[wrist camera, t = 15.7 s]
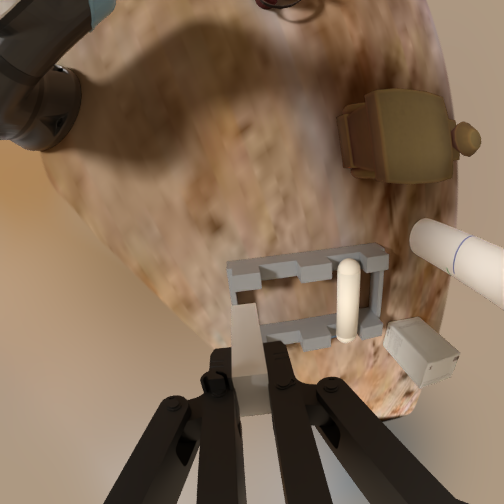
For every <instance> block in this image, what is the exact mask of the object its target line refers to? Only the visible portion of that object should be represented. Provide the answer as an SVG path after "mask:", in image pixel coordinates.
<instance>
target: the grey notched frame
mask: <svg viewBox="0 0 504 504" xmlns="http://www.w3.org/2000/svg"><path fill="white" fill-rule="evenodd" d="M347 258H351V259H354V260H356V261H357V262H358V263H359V265H360V268H361V269H362V270H364V271H365V272H366V273H371V279H370V296H369V307H366V308H361V309H359V313H358V327H357V334H358V335H359V337H360V338H361V340H365V339H369V338H374V337H378V336H382V329H383V323H382V322H381V321H380V312H381V302H382V291H383V277H384V270H388V266H389V254H388V253H386V252H385V248H383V247H382V246H380V245H379V244H377V243H370V244H362V245H355V246H347V247H339V248H332V249H324V250H316V251H308V252H300V253H292V254H284V255H276V256H269V257H260V258H252V259H244V260H236V261H228V262H227V276H228V283H229V289H230V296H231V302H232V306H233V305H238V299H237V292H239V291H248V290H255V289H262V286H261V281H262V280H270V279H277V278H285V277H292V276H297V277H298V278H299V280H300V282H301V283H307V282H314V281H321V280H327V279H332V271H334V270H337V268H338V265H339V263H340V262H341V261H342V260H344V259H347ZM336 319H337V313H335V314H329V315H324V316H318V317H312V318H306V319H299V320H293V321H286V322H279V323H272V324H265V325H260V331H261V337H262V343H266V342H273V341H282V342H283V343H284V344H291V343H297V342H300V344H301V346H302V349H303V352H306V351H312V350H317V349H322V348H328V347H331V338H335V337H337V336H336Z"/></svg>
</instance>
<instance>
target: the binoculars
mask: <svg viewBox="0 0 504 504" xmlns="http://www.w3.org/2000/svg"><path fill="white" fill-rule="evenodd" d="M255 1H256V3H257V5H258V6H259V7H261V8H264V9H270V8H278V9H283V8H288V7H291V6H293V5H295V4H297V3H298V2H300V1H301V0H298V1H296V2H294V3H292V4H289V5H284V6H279V5H275V4H276V3H277V0H255Z"/></svg>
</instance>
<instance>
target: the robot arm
mask: <svg viewBox="0 0 504 504" xmlns="http://www.w3.org/2000/svg"><path fill="white" fill-rule="evenodd" d="M115 5H116V0H0V140H11V141H12V142H14V143H16V144H17V145H19V146H21V147H22V148H24V149H27V150H32V151H41V150H46V149H49V148H51V147H53V146H55V145H56V144H57V143H59V142H60V141H61V140H62V139H63V138H64V137H65V136H66V134H67V133H68V132H69V130H70V129H71V127H72V125H73V124H74V122H75V119H76V117H77V114H78V111H79V108H80V103H81V87H80V82H79V80H78V78H77V76H76V75H75V73H74V72H72V71H71V70H70V69H68V68H65V67H63V66H61V65H55V64H56V63H57V62H58V60H59V59H60V58H61V57H62V56H63V55H64V54H65V53H67V52H68V51H69V50H70V49H71V48H72V47H73V46H74V45H75V44H76V43H77V42H78V41H79V40H80V39H82V38H83V37H84V36H85V35H86V34H87V33H88V32H92V31H93V30H94V28H95V27H96V26H97V25H98V24H99V23H100V22H101V21H102V20H104V19H105V18H106V17H107V16H108V15H110V14H111V12H112V11H113V10H114V8H115ZM200 381H201V385H202V388H203V391H204V394H202V395H201V396H199V397H197V398H194V399H190V400H186V399H185V398H184V397H182V396H170V397H167V398H166V399H164V400H163V401H162V402H161V403H160V405H159V407H158V409H157V411H156V412H155V414H154V416H153V417H152V419H151V421H150V423H149V424H148V426H147V428H146V430H145V431H144V433H143V435H142V437H141V438H140V440H139V442H138V444H137V445H136V447H135V449H134V451H133V452H132V454H131V456H130V458H129V459H128V461H127V463H126V465H125V466H124V468H123V470H122V472H121V474H120V475H119V477H118V479H117V481H116V482H115V484H114V486H113V488H112V489H111V491H110V493H109V495H108V496H107V498H106V500H105V502H104V503H103V504H177V501H178V499H179V496H180V494H181V491H182V488H183V486H184V484H185V481H186V479H187V476H188V474H189V471H190V469H191V466H192V464H193V461H194V459H195V456H196V453H197V451H198V448H199V446H200V452H199V467H198V484H197V504H247V500H246V488H245V487H246V486H245V473H244V457H243V441H242V426H241V421H240V417H244V416H253V415H262V414H270V413H271V414H272V422H273V430H274V435H275V441H276V447H277V453H278V460H279V466H280V472H281V478H282V484H283V491H284V496H285V503H286V504H333V503H332V499H331V495H330V492H329V488H328V485H327V481H326V477H325V474H324V470H323V467H322V463H321V459H320V456H319V452H318V449H317V446H316V442H315V438H314V435H313V431H312V428H311V425H315V427H316V429H317V430H318V432H319V433H320V434H321V436H322V437H323V439H324V440H325V442H326V443H327V445H328V446H329V447H330V449H331V450H332V451H333V453H334V455H335V456H336V457H337V459H338V460H339V462H340V463H341V464H342V466H343V467H344V469H345V470H346V471H347V473H348V474H349V476H350V477H351V478H352V480H353V481H354V482H355V484H356V485H357V487H358V488H359V489H360V491H361V492H362V493H363V495H364V496H365V497H366V499H367V500H368V501H369V503H370V504H468V503H465V502H463V501H460V500H458V499H455V498H454V497H453V495H452V494H451V493H450V492H448V490H447V489H446V488H445V487H444V486H443V485H442V484H441V483H440V482H439V481H438V480H437V479H436V478H435V477H434V476H433V475H432V474H431V473H430V472H429V471H428V470H427V469H426V468H425V467H424V466H423V465H422V464H421V463H420V462H419V461H418V460H417V458H416V457H415V456H414V455H413V454H412V453H411V452H410V451H409V450H408V449H407V448H406V447H405V446H404V445H403V444H402V443H401V442H400V441H399V440H398V438H397V437H395V435H394V434H393V433H392V432H391V431H390V430H389V429H388V428H387V427H386V426H385V425H384V424H383V423H382V421H381V420H380V419H379V418H378V417H377V416H376V415H375V414H374V413H373V412H372V411H371V410H370V409H369V407H368V406H367V405H366V404H365V403H364V402H363V401H362V400H361V399H360V398H359V397H358V396H357V395H356V393H355V392H354V391H353V390H352V389H351V388H350V387H349V386H348V385H347V384H346V383H345V381H343V380H342V379H341V378H337V377H327V378H323V379H322V380H320V381H319V382H318V383H317V385H316V384H305V383H302V382H300V381H298V380H297V379H296V378H295V375H294V372H293V369H292V365H291V362H290V358H289V355H288V351H287V348H286V345H285V344H284V343H283V342H282V341H273V342H266V343H262V337H261V331H260V325H259V320H258V314H257V308H256V303H250V304H241V305H233V306H231V347H229V348H219V349H214V351H213V352H212V354H211V356H210V368H209V371H208V372H206V373H205V374H204V375H203V376H202V377H201V379H200Z"/></svg>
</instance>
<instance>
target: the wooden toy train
mask: <svg viewBox="0 0 504 504" xmlns="http://www.w3.org/2000/svg"><path fill="white" fill-rule="evenodd" d="M364 97H365V103H355V104H350V105H347V106H346V107H345V108H344V109H343V112H342V113H343V115H341V116H339V117H336V118H337V124H338V131H339V138H340V145H341V153H342V161H343V168H351V174H352V175H353V176H354V177H355V178H371V179H376V181H381V182H387V183H399V184H420V183H434V182H440V181H444V180H447V179H451V178H452V176H453V161H454V160H459V156H460V153H461V154H462V155H464V156H468V157H470V156H471V155H473V154H474V153H475V152H476V151H477V150H478V148H479V147H480V144H481V137H480V134H479V132H478V131H477V130H476V129H475V128H473V127H472V126H471V125H470V124H469V123H466V122H461V123H459V124H457V125H456V122H455V120H451V119H449V118H448V114H447V110H446V107H445V103H444V99H443V97H441V96H438V95H435V94H432V93H429V92H425V91H417V90H409V89H399V88H394V89H383V90H375V91H372V92H370V93H368V94H366V95H364Z"/></svg>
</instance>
